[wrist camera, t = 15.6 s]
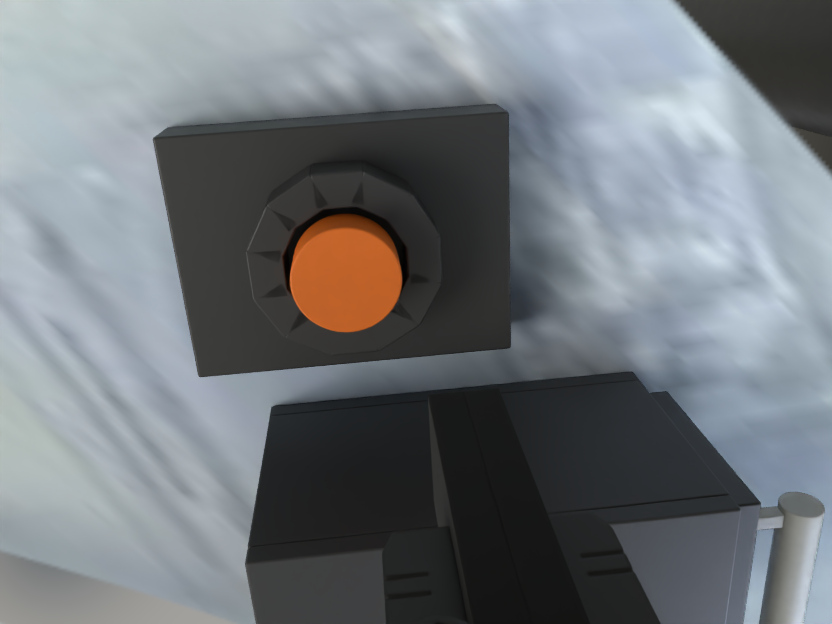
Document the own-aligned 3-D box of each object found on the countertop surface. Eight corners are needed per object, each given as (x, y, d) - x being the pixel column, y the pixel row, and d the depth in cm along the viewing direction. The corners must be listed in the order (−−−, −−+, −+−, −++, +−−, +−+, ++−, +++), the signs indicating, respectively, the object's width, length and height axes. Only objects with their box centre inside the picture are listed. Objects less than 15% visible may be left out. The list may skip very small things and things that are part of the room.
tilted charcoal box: (632, 370, 32) (742, 508, 24) (618, 610, 38) (703, 797, 29) (271, 406, 31) (244, 563, 23) (307, 647, 37) (297, 851, 28)
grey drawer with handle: (764, 380, 32) (886, 489, 25) (733, 602, 37) (828, 746, 30) (327, 424, 31) (323, 551, 24) (353, 647, 36) (357, 809, 29)
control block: (496, 103, 27) (520, 118, 24) (500, 326, 31) (521, 369, 27) (166, 127, 27) (138, 147, 23) (207, 353, 30) (189, 402, 27)
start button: (395, 208, 25) (398, 223, 23) (401, 308, 26) (405, 327, 25) (286, 217, 25) (282, 232, 23) (299, 317, 26) (296, 337, 24)
